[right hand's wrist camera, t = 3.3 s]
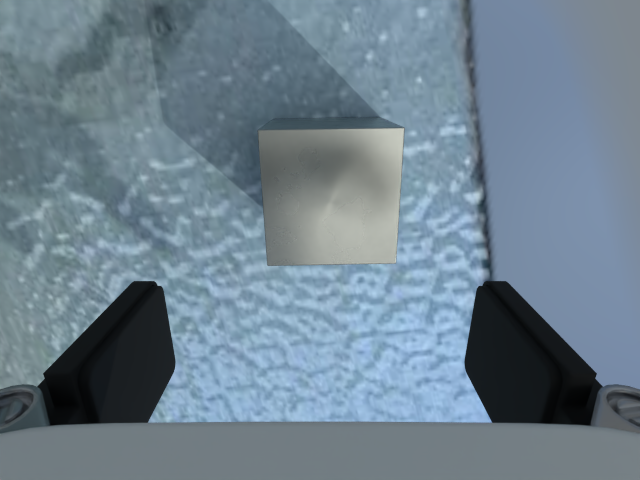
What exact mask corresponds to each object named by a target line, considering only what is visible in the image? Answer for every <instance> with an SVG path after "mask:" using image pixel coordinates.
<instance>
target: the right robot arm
mask: <svg viewBox="0 0 640 480" xmlns="http://www.w3.org/2000/svg"><path fill="white" fill-rule="evenodd" d="M174 369H175V355H174V349H173V343H172V338H171V332H170V326H169V320H168V314H167V308H166V302H165V296H164V291H163V288H162V287H161V286H157V284H156V282H154V281H134V282H132V283H131V284H130V285H129V286H128V287H127V288H126V289H125V290H124V291H123V292H122V293H121V294H120V296H119V297H118V298H117V299H116V300H115V301H114V302H113V303H112V304H111V305H110V306H109V307H108V308H107V309H106V310H105V311H104V312H103V313H102V314H101V315H100V316H99V317H98V318H97V319H96V320H95V321H94V322H93V323H92V324H91V325H90V326H89V327H88V328H87V329H86V330H85V331H84V332H83V333H82V334H81V335H80V337H79V338H78V339H77V340H76V341H75V342H74V343H73V344H72V345H71V346H70V347H69V348H68V349H67V350H66V351H65V352H64V353H63V354H62V355H61V356H60V357H59V358H58V359H57V360H56V361H55V362H54V363H53V364H52V365H51V366H50V367H49V368H48V369H47V370H46V371H45V372H44V373H43V374H44V377H45V379H44V380H43V381H42V382H41V383H40V384H39V385H38V386H37V387H36V386H34V385H25V384H22V385H15V386H10V387H7V388H4V389H0V480H640V389H636V388H633V387H630V386H625V385H617V384H615V385H606V386H604V387H603V386H602V385H601V384H600V383H599V382H598V381H597V380H596V379H595V377H596V374H597V373H596V372H595V371H594V370H593V369H592V368H591V367H590V366H589V365H588V364H587V363H586V362H585V361H584V360H583V359H582V358H581V357H580V356H579V355H578V354H577V353H576V352H575V351H574V350H573V349H572V348H571V347H570V346H569V345H568V344H567V343H566V342H565V341H564V340H563V339H562V338H561V337H560V335H559V334H558V333H557V332H556V331H555V330H554V329H553V328H552V327H551V326H550V325H549V324H548V323H547V322H546V321H545V320H544V319H543V318H542V317H541V316H540V315H539V314H538V313H537V312H536V311H535V310H534V309H533V308H532V307H531V306H530V305H529V304H528V303H527V302H526V301H525V300H524V299H523V298H522V297H521V296H520V295H519V293H518V292H517V291H516V290H515V289H514V288H513V287H512V286H511V285H510V284H509V283H508V282H506V281H486V282H484V284H483V286H479V287H478V288H477V291H476V296H475V302H474V308H473V314H472V320H471V326H470V332H469V338H468V343H467V349H466V355H465V369H466V372H467V375H468V377H469V378H470V380H471V382H472V384H473V386H474V388H475V390H476V392H477V394H478V396H479V398H480V400H481V402H482V404H483V405H484V407H485V409H486V411H487V413H488V415H489V417H490V419H491V421H492V423H457V422H183V423H148V421H149V419H150V417H151V415H152V413H153V411H154V409H155V407H156V405H157V404H158V402H159V400H160V398H161V396H162V394H163V392H164V390H165V388H166V386H167V384H168V382H169V380H170V378H171V377H172V375H173V372H174Z"/></svg>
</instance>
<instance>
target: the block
mask: <svg viewBox="0 0 640 480" xmlns="http://www.w3.org/2000/svg"><path fill="white" fill-rule="evenodd" d="M404 130H405V128H404V127H402V126H399V125H397V124H395V123H392V122H390V121H388V120H386V119H383V118H381V117H353V118H292V119H273V120H271V121H270V122H269V123H267V124H266V125H264V126H263V127H262V128H260V129H259V130H258V143H259V156H260V170H261V184H262V198H263V212H264V226H265V240H266V253H267V265H268V266H285V265H340V264H395V263H396V255H397V239H398V224H399V208H400V193H401V177H402V162H403V146H404Z"/></svg>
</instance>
